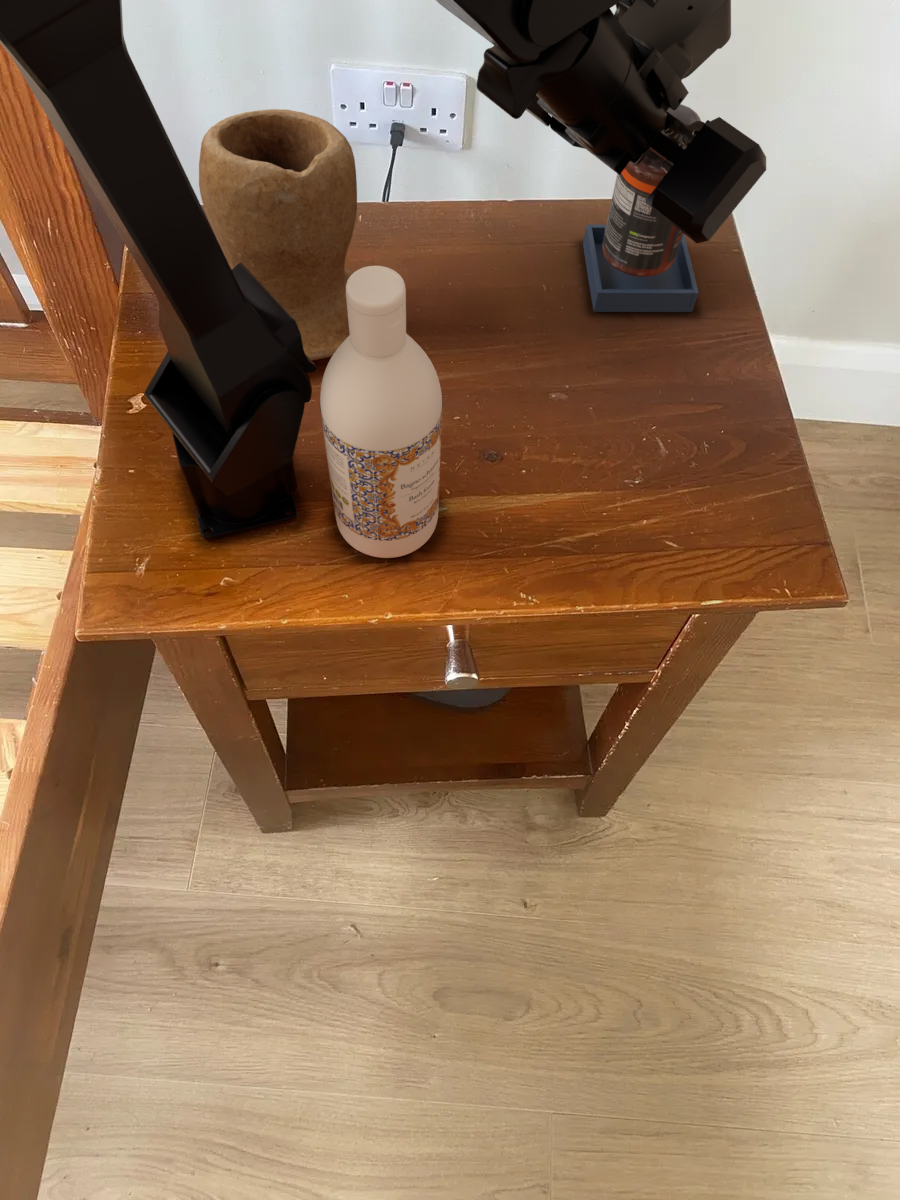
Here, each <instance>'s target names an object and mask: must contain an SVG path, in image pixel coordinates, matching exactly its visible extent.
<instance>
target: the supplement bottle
mask: <svg viewBox="0 0 900 1200" xmlns="http://www.w3.org/2000/svg"><path fill="white" fill-rule="evenodd" d="M667 112H669V113H670V114H671V115H673V116H674V117H676V118H677V119H678V120H680V121H681V122H683V123H684V124H685V125H690V124H692V123H693V122H695V121H702V120H701V117H700V116H699V114H698V113H697V112H696V111H695V110H693V109H692V108H691V107H689V106H687V105H685V104H682V103H681V104H680V105H679V107H678V108H677V109H676V110H675V111H674V110H672V109H671V108H669V109H668V110H667ZM664 130H665V129H664ZM664 130H663V131H661V133H662V134H664V135H665V136H666V137H668V138H669V139H670V140H672V141H673V142H675V143H676V144H677V145H678V142H677V139H676V140H674V139H673V138H672V137H673V136H672V137H670V136H669V135H668V134H669V133H667V134H666V133H665V132H664ZM682 142H683V143H684V144H686V143H685V141H684V140H683V141H682ZM664 162H665V161H664V160H663V159H661V158H660V157H659V156H657V155H656V154H655V153H653V152H652V151H651V150H649V149H648V150H647V151H646V155H645V157H644V158H643V160H642V161H641V162H640V163H639V164H638V165H634V164H633V163H632V162H629V163H628V164H627V166H626V167H625V168H624V170H623V171H622V173H621V174H620V175H619V174H617V173H616V178H615V182H614V187H613V191H612V197H611V202H610V205H609V206H610V207H609V210H608V215H607V219H606V224H605V225H606V229H605V234H604V240H603V245H602V249H603V253H604V256H605V258H606V260H607V261H608V263H609V264H610V265H611V266H612V267H613V268H615V269H617V270H619V271H620V272H622V273H625V274H628V275H632V276H638V277H648V276H649V277H650V276H654V275H658V274H660V273H663V272H664V271H666V270H668V269H669V268H670V267H671V266H672V264H673V263H674V261H675V259H676V255H677V253H678V250H679V247H680V244H681V240H682V237H683V232H681V231H680V230H679V229H677V228H676V227H675V226H674V225H672V224H671V223H670V222H668V221H667V220H666V219H665V218H664V217H663V216H662V215H660V214H659V213H658V212H657V211H656V210H654V209H653V208H652V207H651V206H649V205H648V204H647V203H646V202H645V201H646V200H647V198H648V197H649V196H650V194H651V193H652V192H653V190H654V189H655V188H656V187H657V185H658V184H659V183H660V181H661V180H662V178H663V176H665V175H666V173H665V172H664V171H663V170H662V169H661V168H660V167H661V166H662V164H663V163H664Z"/></svg>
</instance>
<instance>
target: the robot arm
mask: <svg viewBox="0 0 900 1200" xmlns="http://www.w3.org/2000/svg"><path fill="white" fill-rule="evenodd" d="M435 1H436V2H437V3H438V4H439V5H440V6H442V7H443V8H444V9H445V10H447V12H449V13H451V14H452V15H453V16H454V17H456V18H457V19H459V20H460V21H461V22H462V23H464V24H465V25H467V26H468V27H469V28H470V29H472V30H473V31H475V32H476V33H477V34H479V36H481V37H483V38H484V39H485V40H486V41H488V42H489V43H490V44H491V45H493V46H491V47H489V48H486V49H485V50H484V52H483V63H482V65H481V67H480V68H479V70H478V72H477V73H478V74H477V80H476V85H475V86H476V89H477V91H478V92H479V93H481V94H482V95H483V96H485V97H486V98H487V99H489V100H490V101H491V102H492V103H493V104H495V105H496V106H497V107H498V108H499V109H501V110H502V111H504V112H505V113H506V114H507V115H509V117H511V118H513V119H514V120H518V119H520V118H521V117H522V116H523V114H524V113H525V111H526V112H528V113H529V114H530V115H531V116H533V117H534V118H535V119H536V120H538V121H539V122H540V123H541V124H543V125H544V126H546V127H550V129H551V130H552V131H553V132H554V133H555V134H557V135H558V136H559V137H561V138H562V139H563V140H565V141H566V142H567V143H568V144H569V145H571V146H572V147H574V148H580V149H583V150H584V149H585V150H586V151H588V152H589V153H590V154H591V155H592V156H594V157H596V158H597V159H598V160H599V161H600V162H602V163H603V164H604V165H605V166H607V167H608V168H609V169H611V170H612V171H613V172H615V173H616V175H617V174H619V175H620V174H621V173H622V171H623V170H624V168H625V167H626V166H627V164H628V163H629V162H632V163H633V164H634V165H638V164H639V163H640V162H641V161H642V160H643V158H644V157H645V155H646V151H647V150H648V149H649V150H651V151H652V152H653V153H655V154H656V155H657V156H659V157H660V158H661V159H663V160H664V161H665V162H664V163H663V164H662V166H661V167H660V168H661V169H662V170H663V171H664V172H665V173H666V175H665V176H663V178H662V180H661V181H660V183H659V184H658V185H657V187H656V188H655V189H654V190H653V192H652V193H651V194H650V196H649V197H648V198H647V200H646V201H645V202H646V203H647V204H648V205H649V206H651V207H652V208H653V209H654V210H656V211H657V212H658V213H659V214H660V215H662V216H663V217H664V218H665V219H666V220H667V221H668V222H670V223H671V224H672V225H674V226H675V227H676V228H677V229H679V230H680V231H681V232H683V233H684V234H685V237H688V238H689V239H690V240H691V241H693V242H694V243H695V244H702V243H705V242H709V241H710V240H711V239H712V238H713V237H714V235H715V234H716V233H717V231H719V229H720V228H721V227H722V225H723V224H724V223H725V222H726V220H728V218H729V217H730V215H731V214H732V213H733V212H734V210H736V208H737V207H738V205H739V204H740V203H741V202H742V201H743V199H744V198H745V197H746V196H747V194H748V193H749V192H750V191H751V189H753V187H754V186H755V185H756V184H757V182H758V181H759V180H760V178H761V177H763V175H764V174H765V172H767V156H766V153H765V152H764V151H763V149H762V147H761V145H760V144H759V143H758V142H756V141H754V139H752V138H751V137H749V136H747V135H746V134H745V133H743V132H742V131H741V130H740V129H738V128H736V127H735V126H734V125H732V124H731V123H729V122H727V121H726V120H725V119H723V118H721V117H720V116H718V117H716V118H714V119H712V120H709V119H707V120H706V121H705V122H704V121H702V120H701V121H695V122H693V123H692V124H690V125H685V124H684V123H683V122H681V121H680V120H678V119H677V118H676V117H674V116H673V115H671V114H670V113H669V112H667V110H668V109H669V108H671V109H672V110H674V111H675V110H676V109H677V108H678V107H679V105H680V104H681V105H682V103H683V101H684V100H685V99H686V97H687V96H688V95H689V93H690V92H689V91H688V89H687V87H686V85H684V83H683V80H684V79H686V78H688V77H689V76H691V75H692V74H693V73H694V72H695V71H696V70H697V69H699V67H701V65H703V64H704V63H705V62H706V61H707V60H708V59H709V58H710V57H711V56H712V55H713V54H714V53H715V52H716V51H718V50H721V49H722V48H724V46H726V44H728V43H729V42H730V39H731V37H732V0H435ZM613 7H615V8H616V10H615V12H614V13H613V10H611V8H613ZM123 19H124V18H123V1H122V0H0V45H1V46H2V47H3V49H4V50H5V51H6V52H7V53H8V55H9V56H10V57H11V59H12V60H13V62H14V64H15V66H16V68H17V69H18V71H19V72H20V74H21V76H22V77H23V78H24V80H25V82H26V83H27V85H28V87H29V89H30V90H31V92H32V93H33V96H34V97H35V98H36V100H37V102H38V103H39V105H40V107H41V108H42V110H43V112H44V113H45V115H46V117H47V118H48V121H50V124H51V125H52V127H53V128H54V130H55V131H56V133H57V135H58V136H59V139H60V140H61V141H62V143H63V145H64V147H65V148H66V150H67V151H68V153H69V155H70V156H71V158H72V159H73V161H74V163H75V164H76V166H77V168H78V169H79V171H80V173H81V175H82V176H83V177H84V179H85V181H86V183H87V185H88V186H89V187H90V189H91V191H92V193H93V194H94V195H95V197H96V199H97V201H98V203H99V204H100V206H101V207H102V209H103V210H104V213H105V214H106V216H107V217H108V219H109V221H110V222H111V224H112V226H113V227H114V229H115V231H116V232H117V234H118V235H119V237H120V239H121V240H122V242H123V243H124V245H125V247H126V249H127V250H128V252H129V253H130V255H131V257H132V258H133V260H134V262H135V264H136V265H137V267H138V268H139V270H140V272H141V273H142V275H143V276H144V278H145V280H146V282H147V283H148V284H149V286H150V288H151V289H152V291H153V293H154V295H155V297H156V299H157V302H158V308H159V309H158V312H159V313H158V326H159V329H160V332H161V335H162V338H163V340H164V341H163V342H164V343H165V347H166V349H167V352H166V354H165V356H164V357H163V359H162V361H161V362H160V364H159V366H158V367H157V369H156V371H155V373H154V375H153V376H152V378H151V380H150V381H149V384H148V385H147V387H146V388H145V390H144V393H143V395H144V397H145V399H146V400H147V401H148V402H149V404H150V405H151V406H152V407H153V409H154V410H155V411H156V413H157V414H158V415H159V417H160V418H161V420H162V421H164V423H165V424H166V425H167V427H168V428H169V430H170V431H171V432H172V437H173V442H174V446H175V452H176V456H177V461H178V465H179V467H180V469H181V472H182V475H183V478H184V481H185V483H186V486H187V488H188V491H189V493H190V497H191V499H192V502H193V505H194V511H195V515H196V519H197V522H198V523H197V524H198V528H199V532H200V535H201V537H202V539H203V540H205V541H214V540H218V539H222V538H226V537H229V536H234V535H239V534H242V533H243V534H244V533H246V532H250V531H255V530H258V529H259V530H260V529H264V528H267V527H272V526H276V525H280V524H283V523H288V522H292V521H294V520H296V519H297V518H298V516H299V515H298V508H297V505H296V502H295V498H294V495H293V493H295V492H297V491H298V489H299V487H298V485H299V484H298V480H297V476H296V471H295V466H294V461H293V459H294V454H295V449H296V446H297V441H298V437H299V433H300V428H301V424H302V420H303V417H304V413H305V405H306V404H307V403H310V401H311V399H312V396H313V395H312V394H313V387H312V381H311V378H310V376H309V375H308V374H313V373H316V372H317V371H318V368H319V367H318V366H317V365H316V364H315V363H314V362H313V361H311V360H310V359H309V358H308V356H307V355H306V354H305V353H304V349H303V344H302V338H301V334H300V331H299V328H298V326H297V323H296V321H295V320H294V319H293V318H292V317H291V316H290V315H289V314H288V312H287V311H286V310H285V309H284V308H283V307H282V306H281V305H280V304H279V303H278V302H277V301H276V299H275V298H274V297H273V296H272V295H271V294H270V293H269V292H268V291H267V290H266V289H265V288H264V286H263V285H262V284H261V283H260V282H259V281H258V280H257V279H256V278H255V277H254V276H253V275H252V273H251V272H250V271H249V270H248V269H247V268H246V267H245V266H244V265H243V264H242V263H241V262H240V263H239V264H238V265H236V266H235V267H234V268H233V269H232V270H231V268H230V266H229V263H228V261H227V259H226V257H225V255H224V253H223V251H222V249H221V247H220V245H219V242H218V240H217V238H216V236H215V234H214V231H213V229H212V226H211V224H210V222H209V219H208V217H207V214H206V212H205V210H204V209H203V207H202V205H201V203H200V200H199V198H198V196H197V194H196V192H195V190H194V188H193V186H192V183H191V180H189V177H188V175H187V173H186V171H185V169H184V167H183V165H182V163H181V160H180V159H179V157H178V154H177V152H176V150H175V148H174V145H173V143H172V141H171V139H170V137H169V135H168V133H167V131H166V129H165V127H164V125H163V122H162V121H161V118H160V116H159V114H158V112H157V110H156V107H155V106H154V103H153V101H152V100H151V98H150V95H149V93H148V91H147V90H146V87H145V85H144V83H143V81H142V78H141V76H140V74H139V72H138V70H137V68H136V65H135V64H134V62H133V60H132V58H131V55H130V53H129V50H128V48H127V44H126V43H127V42H126V40H125V36H124V20H123ZM664 129H665V130H664ZM663 130H664V132H665V133H666V134H667V133H669V134H668V135H669V136H670V137H672V136H673V137H672V138H673V139H674V140H676V139H677V142H678V145H677V144H676V143H675V142H673V141H672V140H670V139H669V138H668V137H666V136H665V135H664V134H662V133H661V131H663ZM683 140H684V141H685V143H686V144H684V143H683V142H682V141H683ZM208 532H209V533H208Z"/></svg>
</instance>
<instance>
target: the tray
mask: <svg viewBox="0 0 900 1200" xmlns="http://www.w3.org/2000/svg"><path fill="white" fill-rule="evenodd" d="M585 226H586V227H585V230H584V231H585V232H584V237H583V242H582V248H583V254H584V259H585V266H586V273H587V279H588V285H589V292H590V298H591V304H592V305H591V306H592V310H593V312H594V313H692V312H693V310H694V307H695V305H696V301H697V299H698V297H699V288H698V285H697V281H696V276H695V272H694V268H693V263H692V260H691V256H690V255H691V254H690V251H689V247H688V244H687V239H686V235H685V234H684V233H683V237H682V240H681V244H680V247H679V250H678V253H677V255H676V259H675V261H674V263H673V264H672V266H671V267H670V268H669V269H668V270H666V271H664V272H663V273H660V274H658V275H654V276H650V277H649V276H648V277H638V276H632V275H628V274H625V273H622V272H620V271H619V270H617V269H615V268H613V267H612V266H611V265H610V264H609V263H608V261H607V260H606V258H605V256H604V253H603V249H602V245H603V240H604V234H605V229H606V224H586V225H585Z"/></svg>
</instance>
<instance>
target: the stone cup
mask: <svg viewBox="0 0 900 1200" xmlns="http://www.w3.org/2000/svg"><path fill="white" fill-rule="evenodd" d="M200 143H201V145H200V153H199V159H198V161H199V162H198V188H199V195H200V198H201V203H202V205H203V208H204V212H205V215H206V217H207V219H208V221H209V224H210V226H211V228H212V230H213V232H214V234H215V236H216V238H217V240H218V242H219V245H220V247H221V249H222V251H223V253H224V255H225V257H226V259H227V261H228V263H229V266H230V268H231V270H232V269H233V268H234V267H235V266H236V265H238V264H239V263H240V262H241V263H242V264H243V265H244V266H245V267H246V268H247V269H248V270H249V271H250V272H251V273H252V275H253V276H254V277H255V278H256V279H257V280H258V281H259V282H260V283H261V284H262V285H263V286H264V288H265V289H266V290H267V291H268V292H269V293H270V294H271V295H272V296H273V297H274V298H275V299H276V301H277V302H278V303H279V304H280V305H281V306H282V307H283V308H284V309H285V310H286V311H287V312H288V314H289V315H290V316H291V317H292V318H293V319H294V320H295V321H296V323H297V326H298V328H299V331H300V334H301V338H302V344H303V349H304V353H305V354H306V355H307V356H308V358H309V359H310V360H311V361H312V362H313V361H317V360H321V359H327V358H331V357H332V356H333V354H334V353H335V351H336V350H337V349H338V347H339V346H340V345H341V344H342V343H343V342H344V340H345V339H346V338H347V337H348V336H349V335H350V332H349V322H348V311H347V300H346V284H347V281H348V279H349V277H350V276H351V275H352V274H353V273H354V272H355V271H354V270H351V269H348V268H345V265H346V264H345V263H346V258H347V254H348V250H349V246H350V245H351V241H352V237H353V234H354V229H355V226H356V225H355V224H356V220H357V212H358V183H357V168H356V160H355V155H354V152H353V148H352V145H351V144H350V142H349V141H348V139H347V137H346V136H345V135H344V134H343V133H342V132H341V131H340V130H339V129H338V128H337V127H336V126H335V125H333V124H332V123H330V122H329V121H328V120H326V119H324V118H320V117H318V116H316V115H312V114H309V113H306V112H303V111H298V110H291V109H283V108H282V109H280V108H279V109H277V108H271V109H259V110H251V111H245V112H242V113H238V114H235V115H230V116H228V117H225V118H223V119H221V120H219V121H217V122H216V123H215V124H214V125H212V126H211V127H210V128H209V129H208V130H207V131H206V132H205V134H204V136H203V138H202V141H201V142H200Z"/></svg>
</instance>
